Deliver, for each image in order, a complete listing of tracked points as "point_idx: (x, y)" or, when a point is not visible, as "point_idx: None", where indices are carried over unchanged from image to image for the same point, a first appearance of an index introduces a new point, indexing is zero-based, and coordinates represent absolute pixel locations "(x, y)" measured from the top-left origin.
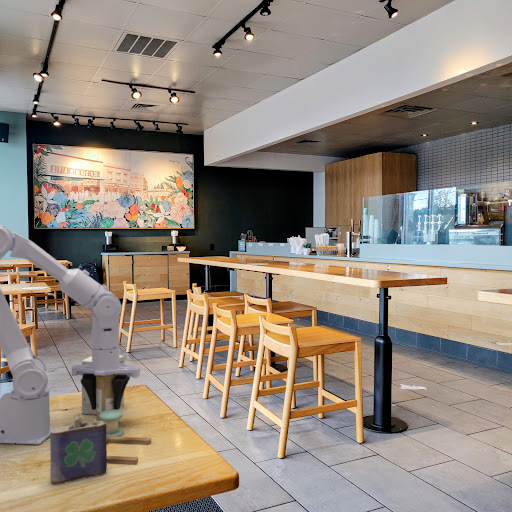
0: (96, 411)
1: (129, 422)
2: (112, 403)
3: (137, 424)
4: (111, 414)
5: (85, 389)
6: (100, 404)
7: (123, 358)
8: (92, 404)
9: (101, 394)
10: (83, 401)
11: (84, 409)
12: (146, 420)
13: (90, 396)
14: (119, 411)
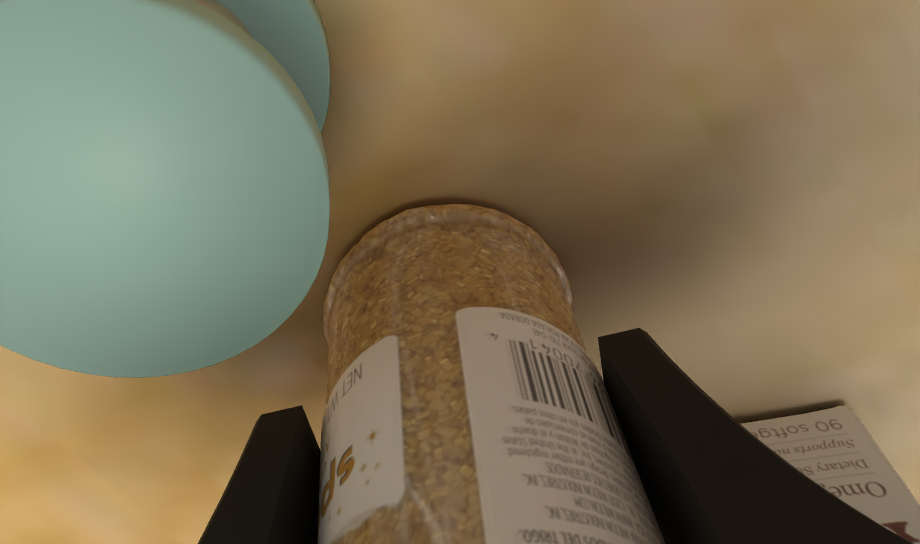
0: None
1: (229, 408)
2: (327, 482)
3: (104, 399)
4: (58, 172)
5: (894, 540)
6: (488, 388)
7: None
8: (649, 373)
9: (489, 536)
10: (900, 509)
11: (841, 441)
12: (93, 498)
13: (725, 457)
14: (40, 328)
